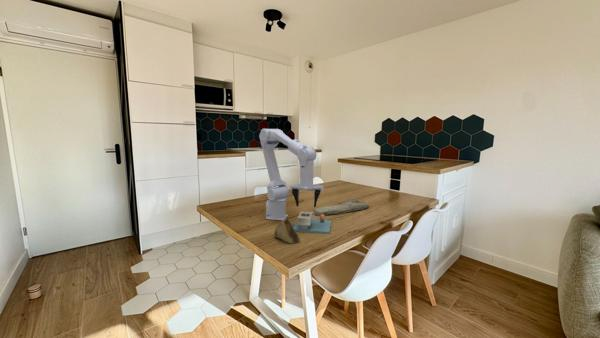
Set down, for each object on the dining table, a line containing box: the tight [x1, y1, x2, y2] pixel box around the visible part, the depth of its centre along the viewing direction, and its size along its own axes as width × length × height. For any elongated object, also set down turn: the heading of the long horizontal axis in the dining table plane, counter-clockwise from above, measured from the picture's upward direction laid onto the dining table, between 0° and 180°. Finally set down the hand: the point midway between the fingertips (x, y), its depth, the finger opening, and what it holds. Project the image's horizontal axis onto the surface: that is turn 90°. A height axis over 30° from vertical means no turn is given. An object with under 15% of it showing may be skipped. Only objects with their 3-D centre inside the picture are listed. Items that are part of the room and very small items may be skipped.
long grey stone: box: [313, 198, 370, 217], centre depth 138 cm, size 35×5×10 cm
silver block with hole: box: [296, 211, 314, 226], centre depth 112 cm, size 6×9×3 cm, turn 170°
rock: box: [273, 217, 301, 244], centre depth 100 cm, size 11×9×10 cm
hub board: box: [293, 218, 332, 235], centre depth 114 cm, size 16×14×1 cm
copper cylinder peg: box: [319, 214, 325, 223], centre depth 118 cm, size 2×2×3 cm
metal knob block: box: [300, 225, 309, 230], centre depth 112 cm, size 3×8×5 cm, turn 171°
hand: (306, 206), depth 111 cm, fingers open, 7 cm apart
